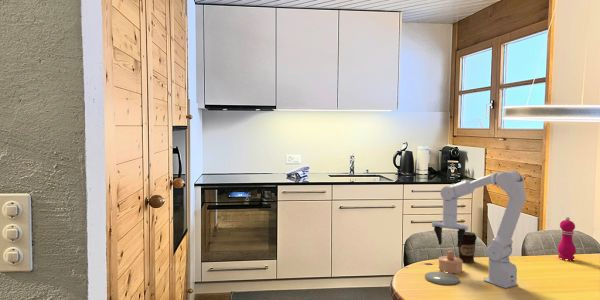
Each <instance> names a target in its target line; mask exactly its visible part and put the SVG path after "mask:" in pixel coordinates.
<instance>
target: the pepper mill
mask: <svg viewBox="0 0 600 300" xmlns="http://www.w3.org/2000/svg"><path fill="white" fill-rule="evenodd" d="M564 219H565V220H562V221H561V222H560V223H559V228H560V233H561V239H560V242H559V244H558V246H557V251H558V253H559V254H558V259H559V258H562V259H568V260H573V259H576V258H575V257H576V256H575V255H576V253H577V249H576V246H575V244H574V242H573V235H574V230H575V229H576V225H575V222H574V221H572V220H570V219H571V218H570V217H569V216H566V217H565V218H564Z"/></svg>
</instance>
